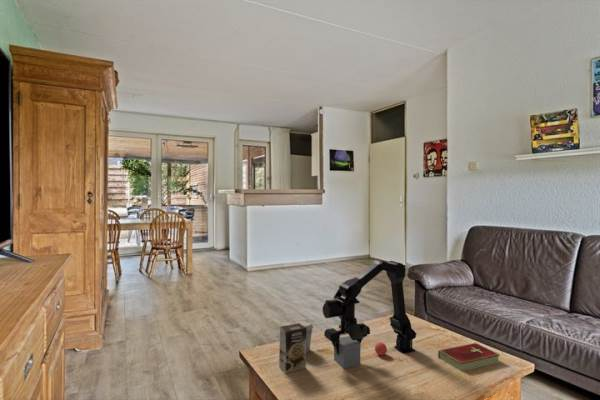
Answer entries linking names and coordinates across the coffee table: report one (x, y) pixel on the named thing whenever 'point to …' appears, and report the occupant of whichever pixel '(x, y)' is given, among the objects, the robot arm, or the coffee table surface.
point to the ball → (380, 348)
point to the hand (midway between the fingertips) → (347, 352)
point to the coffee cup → (309, 332)
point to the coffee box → (292, 347)
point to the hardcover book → (468, 356)
